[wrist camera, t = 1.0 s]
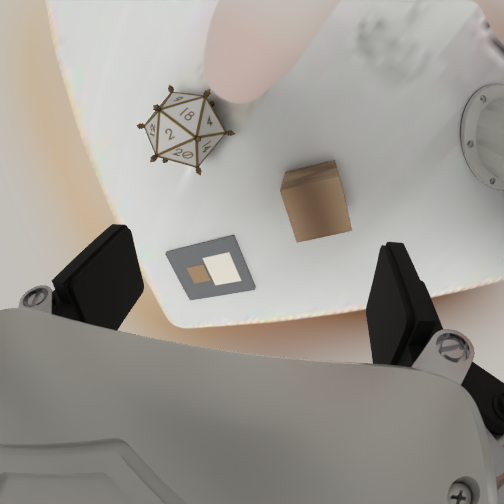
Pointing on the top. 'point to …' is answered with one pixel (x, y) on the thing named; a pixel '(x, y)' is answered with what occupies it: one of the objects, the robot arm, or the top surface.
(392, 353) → the robot arm
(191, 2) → the top surface
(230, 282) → the card
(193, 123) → the game die
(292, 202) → the walnut block
